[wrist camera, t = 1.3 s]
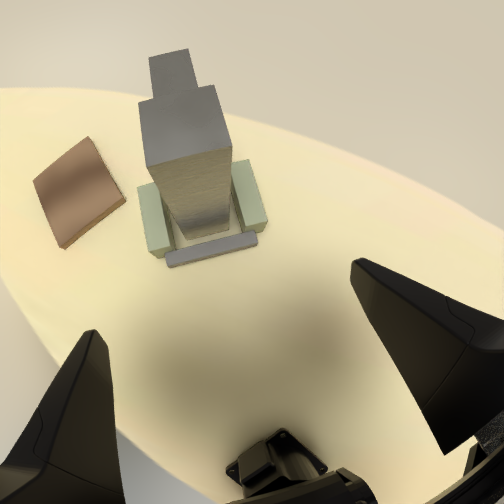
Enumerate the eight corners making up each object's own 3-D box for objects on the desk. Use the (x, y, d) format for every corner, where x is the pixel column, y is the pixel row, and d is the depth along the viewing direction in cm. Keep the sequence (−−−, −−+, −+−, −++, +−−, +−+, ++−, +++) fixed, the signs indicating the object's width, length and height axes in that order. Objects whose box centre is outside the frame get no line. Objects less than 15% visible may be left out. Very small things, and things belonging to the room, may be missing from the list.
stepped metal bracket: (228, 229, 24) (232, 145, 11) (187, 240, 23) (146, 167, 11) (210, 160, 25) (202, 45, 12) (171, 169, 24) (134, 61, 12)
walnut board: (126, 201, 23) (122, 197, 22) (64, 249, 22) (59, 247, 21) (91, 141, 24) (88, 135, 23) (37, 184, 23) (32, 180, 22)
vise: (266, 243, 24) (271, 234, 21) (160, 270, 23) (151, 265, 20) (246, 175, 25) (248, 159, 22) (146, 200, 24) (137, 187, 21)
